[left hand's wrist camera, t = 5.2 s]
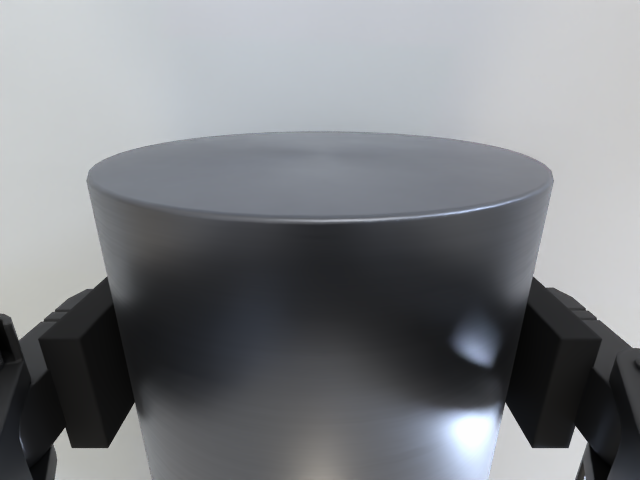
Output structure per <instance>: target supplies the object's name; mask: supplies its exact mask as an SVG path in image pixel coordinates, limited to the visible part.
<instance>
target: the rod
mask: <svg viewBox="0 0 640 480" xmlns="http://www.w3.org/2000/svg"><path fill="white" fill-rule="evenodd" d="M553 182H554V180H553V176H552V172H551V170H550V169H549V168H548V167H547V166H546V165H545V164H543V163H541V162H539V161H538V160H536V159H534V158H531V157H529V156H526V155H524V154H521V153H518V152H514V151H511V150H508V149H503V148H499V147H495V146H490V145H485V144H480V143H474V142H468V141H461V140H454V139H446V138H437V137H428V136H417V135H404V134H389V133H368V132H272V133H251V134H236V135H224V136H212V137H203V138H194V139H186V140H179V141H173V142H166V143H160V144H155V145H150V146H145V147H141V148H137V149H133V150H129V151H126V152H122V153H119V154H117V155H114V156H111V157H109V158H107V159H104V160H103V161H101V162H99V163H97V164H95V165H94V166H93V167H92V168H91V169H90V170H89V173H88V177H87V185H88V189H89V194H90V199H91V203H92V208H93V212H94V217H95V221H96V226H97V231H98V235H99V240H100V244H101V249H102V253H103V258H104V262H105V267H106V272H107V276H108V281H109V285H110V290H111V294H112V299H113V304H114V308H115V313H116V317H117V322H118V326H119V331H120V336H121V340H122V345H123V349H124V354H125V358H126V363H127V367H128V372H129V377H130V381H131V386H132V390H133V395H134V399H135V404H136V409H137V413H138V418H139V422H140V427H141V431H142V436H143V440H144V445H145V450H146V454H147V459H148V463H149V468H150V472H151V477H152V480H488V478H489V473H490V469H491V464H492V460H493V455H494V451H495V446H496V442H497V437H498V432H499V428H500V423H501V419H502V414H503V410H504V405H505V401H506V396H507V391H508V387H509V382H510V378H511V373H512V369H513V364H514V360H515V355H516V350H517V346H518V341H519V337H520V332H521V328H522V323H523V319H524V314H525V309H526V305H527V300H528V296H529V291H530V287H531V282H532V277H533V273H534V268H535V264H536V259H537V255H538V250H539V246H540V241H541V236H542V232H543V227H544V223H545V218H546V214H547V209H548V205H549V200H550V195H551V191H552V186H553Z"/></svg>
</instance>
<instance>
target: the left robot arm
mask: <svg viewBox="0 0 640 480" xmlns="http://www.w3.org/2000/svg"><path fill="white" fill-rule="evenodd" d="M505 402H506V404H507V406H508V407H509V409H510V411H511V412H512V414H513V416H514V418H515V419H516V421H517V423H518V424H519V426H520V428H521V430H522V431H523V433H524V435H525V436H526V438H527V440H528V442H529V443H530V445H531V447H532V448H569V445H570V441H571V438H572V435H573V432H574V428H575V426H576V427H577V428H578V430H579V431H580V432H581V434H582V435H583V436H584V438H585V439H586V440H587V445H586V448H585V451H584V454H583V457H582V460H581V463H580V466H579V469H578V472H577V476H576V479H575V480H585V479H586V480H640V349H639V348H632V347H631V346H630V345H628V344H627V343H626V342H625V341H624V340H622V339H621V338H620V337H619V336H618V335H616V334H615V333H614V332H613V331H612V330H611V329H609V328H608V327H607V326H606V325H605V324H603V323H602V322H601V321H600V320H597V318H596V317H595V316H594V315H593V314H592V313H590V312H589V311H586V308H584V307H583V306H582V305H581V304H580V303H578V302H577V301H576V300H575V299H574V298H573V297H571V296H569V295H567V294H565V293H563V292H561V291H559V290H557V289H555V288H545V287H544V286H543V285H542V284H541V283H540V282H539V281H537V280H536V279H535V278H534V277H532V282H531V287H530V291H529V296H528V300H527V305H526V309H525V314H524V319H523V323H522V328H521V332H520V337H519V341H518V346H517V350H516V355H515V360H514V364H513V369H512V373H511V378H510V382H509V387H508V391H507V396H506V401H505ZM134 403H135V399H134V395H133V390H132V386H131V381H130V377H129V372H128V367H127V363H126V358H125V354H124V349H123V345H122V340H121V336H120V331H119V326H118V322H117V317H116V313H115V308H114V304H113V299H112V294H111V290H110V285H109V281H108V276H107V277H106V278H105V279H104V280H103V281H102V282H101V283H99V284H98V285H97V286H96V287H95V288H94V289H86V290H84V291H82V292H81V293H79V294H77V295H75V296H73V297H71V298H69V299H67V300H66V301H65V302H64V303H63V304H62V305H60V306H59V307H58V308H57V309H56V310H55V312H52V313H51V314H50V315H49V316H47V317H46V318H45V319H44V322H40V323H39V324H38V325H37V326H36V327H34V328H33V329H32V330H31V331H30V332H29V333H27V334H26V335H25V336H24V337H23V338H21V339H20V340H18V337H17V334H16V331H15V328H14V325H13V322H12V319H11V317H9V316H7V315H5V314H0V480H54V479H55V472H56V465H57V457H56V451H55V448H54V445H53V443H54V442H55V440H56V439H57V438H58V436H59V435H60V433H61V432H62V431H63V429H64V428H65V427H66V431H67V434H68V437H69V440H70V443H71V447H72V448H108V447H109V445H110V444H111V442H112V440H113V439H114V437H115V435H116V433H117V432H118V430H119V428H120V427H121V425H122V423H123V421H124V420H125V418H126V416H127V415H128V413H129V411H130V409H131V408H132V406H133V404H134Z"/></svg>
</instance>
